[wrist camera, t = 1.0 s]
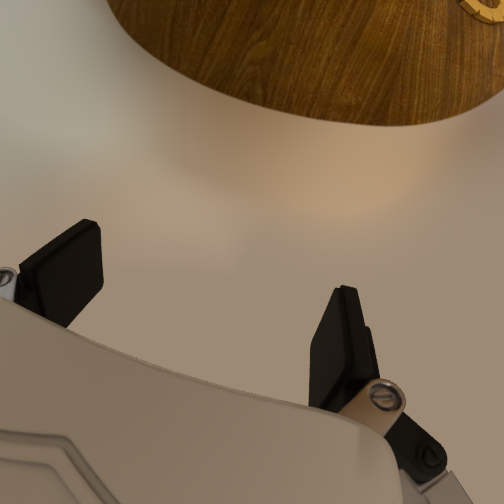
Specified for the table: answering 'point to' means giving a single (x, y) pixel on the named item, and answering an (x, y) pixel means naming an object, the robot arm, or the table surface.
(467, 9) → the brass ring
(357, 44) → the table surface
